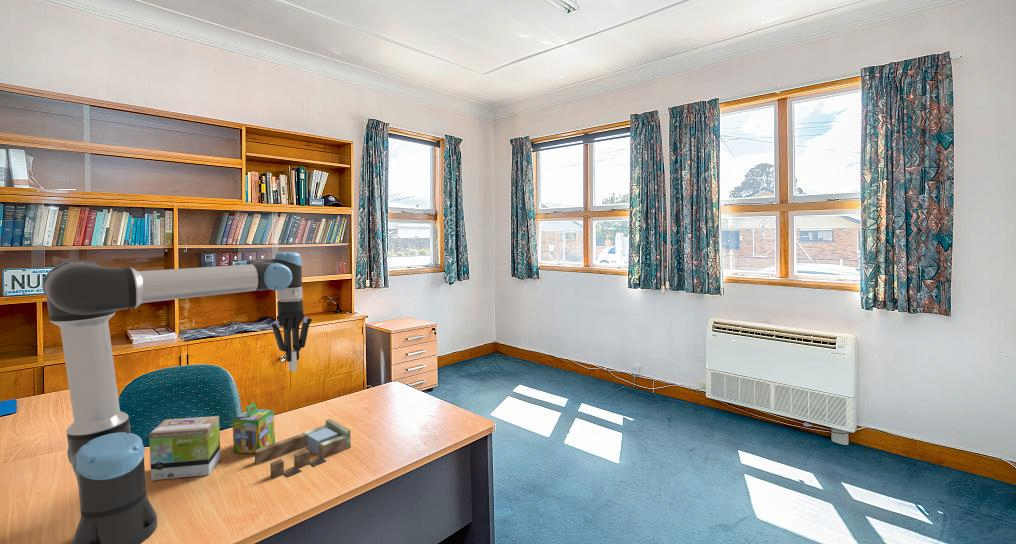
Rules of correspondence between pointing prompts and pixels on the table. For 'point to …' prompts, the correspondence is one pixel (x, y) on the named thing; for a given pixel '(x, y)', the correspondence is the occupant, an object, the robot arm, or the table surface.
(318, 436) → the block
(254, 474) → the table surface
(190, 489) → the table surface
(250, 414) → the chalk box
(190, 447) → the tea box
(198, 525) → the table surface
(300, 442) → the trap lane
